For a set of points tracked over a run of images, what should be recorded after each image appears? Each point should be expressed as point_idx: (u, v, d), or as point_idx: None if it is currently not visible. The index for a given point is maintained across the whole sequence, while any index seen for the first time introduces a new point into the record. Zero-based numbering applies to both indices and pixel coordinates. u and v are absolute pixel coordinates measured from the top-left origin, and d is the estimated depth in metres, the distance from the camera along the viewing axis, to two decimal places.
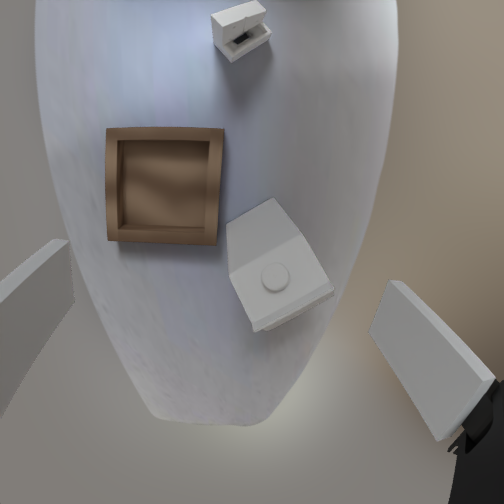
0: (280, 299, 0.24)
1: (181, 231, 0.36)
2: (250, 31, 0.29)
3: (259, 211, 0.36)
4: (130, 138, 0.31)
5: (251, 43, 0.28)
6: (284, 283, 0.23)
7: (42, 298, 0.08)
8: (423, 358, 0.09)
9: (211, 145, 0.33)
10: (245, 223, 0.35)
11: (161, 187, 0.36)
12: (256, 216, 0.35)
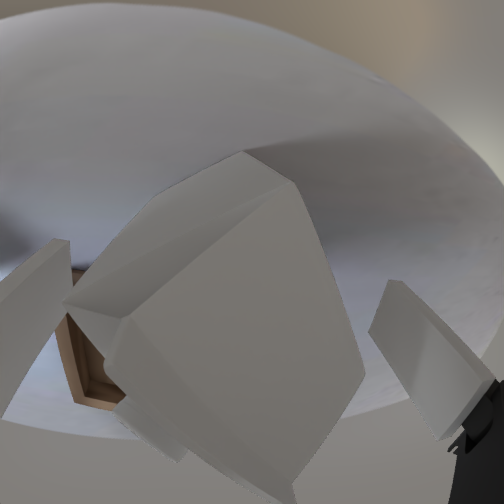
0: None
1: None
2: None
3: None
4: (79, 385, 0.23)
5: None
6: (151, 445, 0.06)
7: (42, 298, 0.08)
8: (423, 358, 0.09)
9: None
10: None
11: None
12: None
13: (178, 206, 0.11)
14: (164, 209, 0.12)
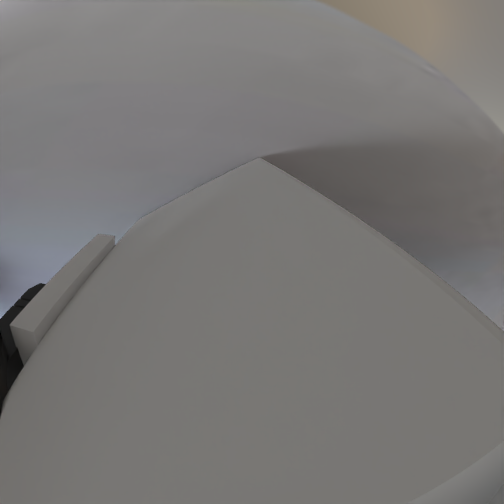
0: None
1: None
2: None
3: None
4: None
5: None
6: None
7: None
8: None
9: None
10: None
11: None
12: None
13: (148, 290, 0.05)
14: (129, 280, 0.06)
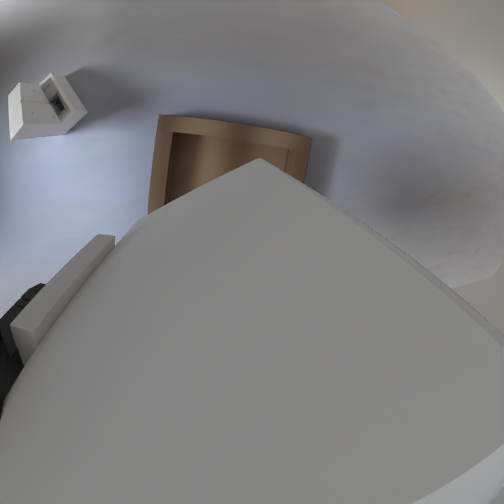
0: None
1: None
2: (51, 96, 0.23)
3: None
4: None
5: (61, 92, 0.22)
6: None
7: None
8: None
9: (178, 130, 0.25)
10: None
11: None
12: None
13: (148, 292, 0.05)
14: (129, 281, 0.06)
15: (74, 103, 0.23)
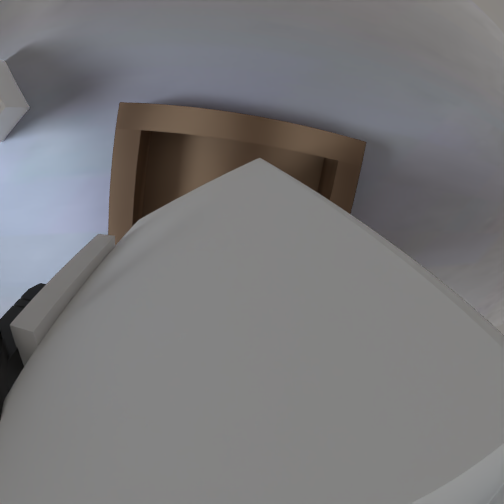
0: None
1: None
2: None
3: None
4: None
5: None
6: None
7: None
8: None
9: (150, 126, 0.15)
10: None
11: None
12: None
13: (148, 292, 0.05)
14: (129, 281, 0.06)
15: (8, 96, 0.13)
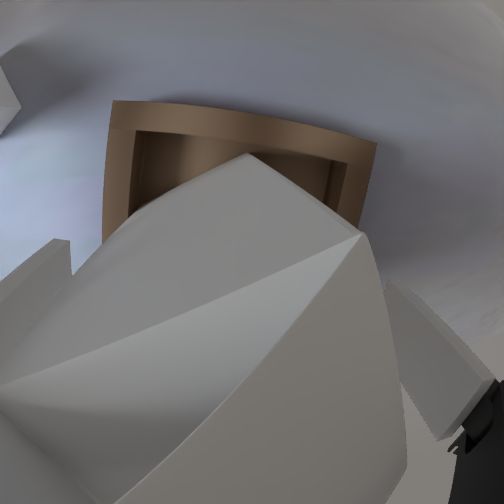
0: None
1: None
2: None
3: None
4: None
5: None
6: None
7: (42, 298, 0.08)
8: (423, 358, 0.09)
9: (145, 126, 0.13)
10: None
11: None
12: None
13: (152, 238, 0.07)
14: (136, 238, 0.08)
15: None
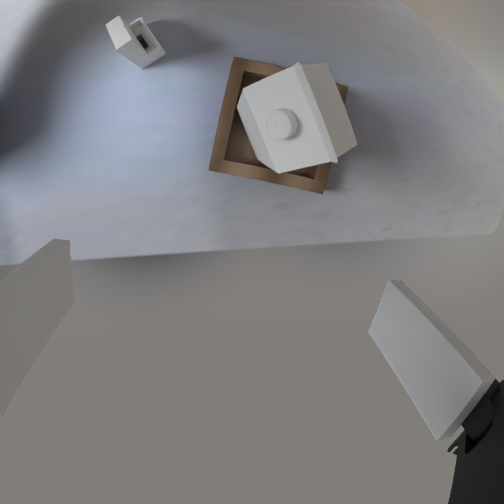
0: (307, 123, 0.19)
1: None
2: (135, 36, 0.28)
3: (244, 125, 0.32)
4: (225, 145, 0.33)
5: (149, 32, 0.27)
6: (285, 116, 0.18)
7: (42, 298, 0.08)
8: (423, 358, 0.09)
9: (248, 69, 0.30)
10: (252, 141, 0.31)
11: None
12: (247, 128, 0.31)
13: None
14: None
15: (158, 43, 0.29)
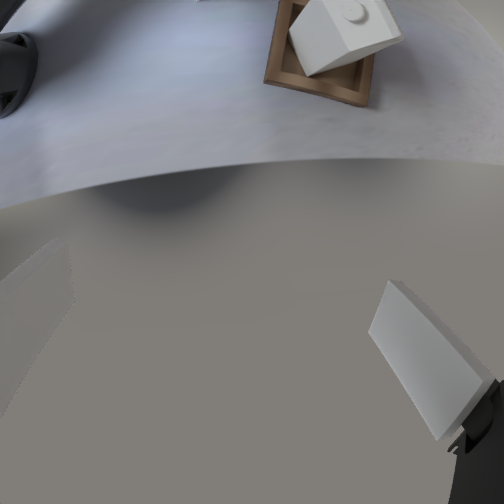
0: (373, 11, 0.18)
1: None
2: None
3: (297, 43, 0.32)
4: (281, 59, 0.33)
5: None
6: (358, 3, 0.18)
7: (42, 298, 0.08)
8: (423, 358, 0.09)
9: (296, 2, 0.29)
10: (307, 53, 0.31)
11: None
12: (301, 43, 0.30)
13: None
14: None
15: None
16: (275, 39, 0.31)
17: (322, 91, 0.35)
